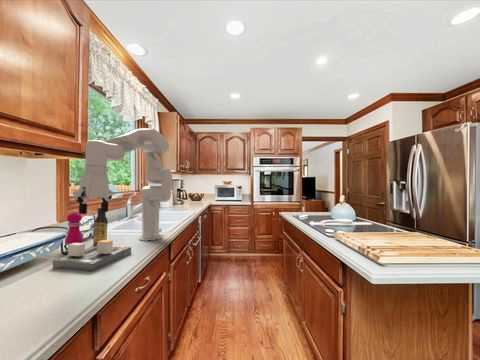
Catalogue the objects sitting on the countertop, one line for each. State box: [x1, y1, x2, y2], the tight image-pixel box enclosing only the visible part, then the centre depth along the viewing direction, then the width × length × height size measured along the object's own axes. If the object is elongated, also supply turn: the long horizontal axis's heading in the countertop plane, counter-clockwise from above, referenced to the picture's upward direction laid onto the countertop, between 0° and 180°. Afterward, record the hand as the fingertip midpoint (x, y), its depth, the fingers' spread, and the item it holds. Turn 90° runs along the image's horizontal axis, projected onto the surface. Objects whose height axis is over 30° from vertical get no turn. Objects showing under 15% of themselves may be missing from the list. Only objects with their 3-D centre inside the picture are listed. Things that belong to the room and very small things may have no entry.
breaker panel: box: [52, 245, 132, 273], centre depth 96 cm, size 22×18×3 cm
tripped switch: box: [97, 239, 114, 254], centre depth 95 cm, size 3×5×5 cm, turn 80°
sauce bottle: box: [92, 206, 109, 246], centre depth 121 cm, size 6×6×20 cm
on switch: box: [67, 242, 86, 256], centre depth 92 cm, size 3×5×4 cm, turn 80°
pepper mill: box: [64, 209, 84, 245], centre depth 110 cm, size 7×7×20 cm
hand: (94, 212), depth 90 cm, fingers open, 9 cm apart
